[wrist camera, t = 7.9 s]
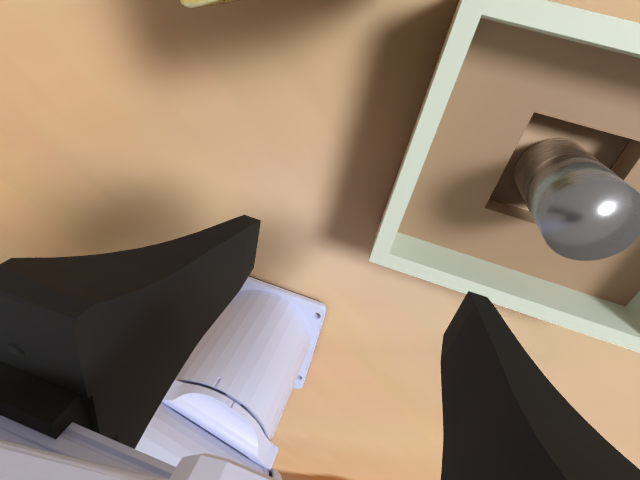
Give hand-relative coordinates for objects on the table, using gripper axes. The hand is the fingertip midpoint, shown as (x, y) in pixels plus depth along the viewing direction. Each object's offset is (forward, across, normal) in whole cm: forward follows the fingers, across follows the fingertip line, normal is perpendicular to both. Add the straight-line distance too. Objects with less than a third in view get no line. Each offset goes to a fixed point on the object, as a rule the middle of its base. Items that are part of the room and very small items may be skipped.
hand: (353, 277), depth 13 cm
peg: (+10, -8, -3) cm, 13 cm away
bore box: (+10, -8, -3) cm, 13 cm away
